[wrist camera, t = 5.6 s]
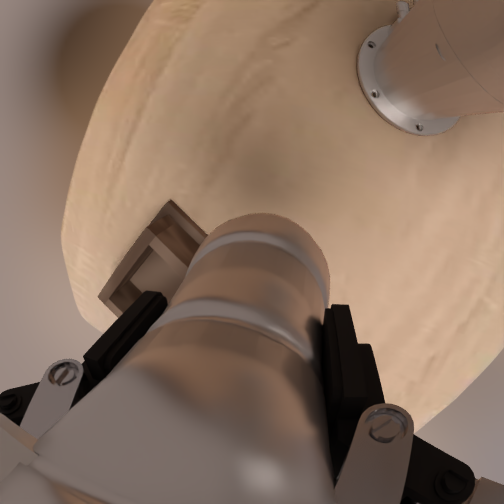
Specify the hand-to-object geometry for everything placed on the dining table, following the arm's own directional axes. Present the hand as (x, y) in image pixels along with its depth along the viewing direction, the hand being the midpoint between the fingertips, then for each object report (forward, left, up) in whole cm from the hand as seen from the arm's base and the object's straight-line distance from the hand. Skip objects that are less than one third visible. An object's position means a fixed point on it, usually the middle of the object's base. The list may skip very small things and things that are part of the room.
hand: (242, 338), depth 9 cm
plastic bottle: (0, 0, -7) cm, 7 cm away
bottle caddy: (+9, -12, -21) cm, 26 cm away
